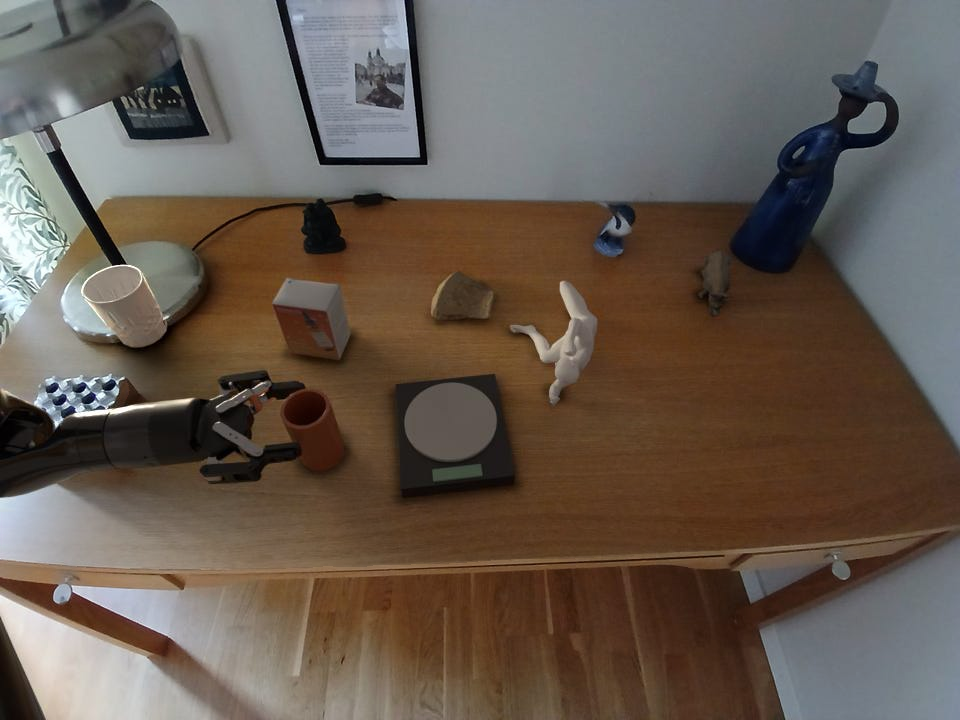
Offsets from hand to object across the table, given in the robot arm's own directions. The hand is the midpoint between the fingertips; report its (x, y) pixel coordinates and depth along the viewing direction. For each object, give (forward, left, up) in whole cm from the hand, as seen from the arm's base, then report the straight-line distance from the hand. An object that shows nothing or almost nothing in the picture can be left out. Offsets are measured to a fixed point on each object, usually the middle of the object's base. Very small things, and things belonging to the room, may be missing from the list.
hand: (303, 417), depth 66 cm
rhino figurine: (+21, -63, -8) cm, 67 cm away
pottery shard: (+25, -23, -8) cm, 35 cm away
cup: (0, -1, -8) cm, 8 cm away
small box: (+19, 0, -8) cm, 21 cm away
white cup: (+25, +27, -8) cm, 38 cm away
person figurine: (+11, -36, -8) cm, 38 cm away
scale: (0, -18, -8) cm, 19 cm away
